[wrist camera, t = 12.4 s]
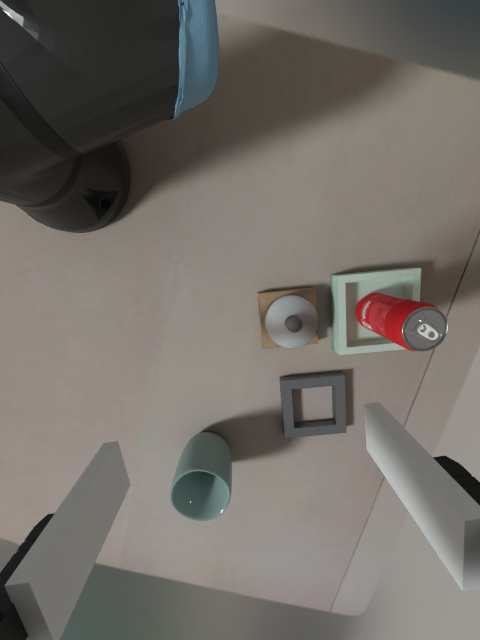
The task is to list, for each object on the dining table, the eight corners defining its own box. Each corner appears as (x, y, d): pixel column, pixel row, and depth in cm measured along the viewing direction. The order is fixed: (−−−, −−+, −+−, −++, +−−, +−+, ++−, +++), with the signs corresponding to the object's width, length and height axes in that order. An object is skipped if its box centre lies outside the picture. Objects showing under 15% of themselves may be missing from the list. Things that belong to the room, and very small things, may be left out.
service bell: (257, 292, 41) (260, 297, 35) (313, 287, 41) (324, 290, 35) (262, 345, 42) (265, 357, 37) (315, 340, 42) (327, 352, 37)
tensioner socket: (279, 376, 43) (280, 381, 42) (341, 371, 43) (345, 375, 42) (283, 432, 45) (284, 438, 44) (342, 427, 45) (346, 432, 44)
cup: (240, 435, 45) (241, 483, 36) (220, 473, 47) (215, 529, 37) (195, 416, 45) (183, 460, 35) (176, 456, 46) (160, 508, 36)
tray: (330, 274, 40) (337, 275, 37) (407, 267, 40) (421, 267, 37) (332, 348, 42) (339, 355, 40) (405, 341, 42) (418, 347, 39)
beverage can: (367, 284, 40) (422, 294, 28) (396, 304, 40) (461, 321, 29) (345, 315, 41) (389, 337, 29) (374, 334, 41) (428, 362, 30)
